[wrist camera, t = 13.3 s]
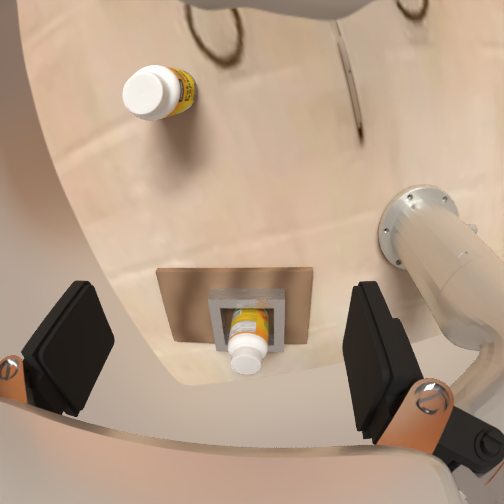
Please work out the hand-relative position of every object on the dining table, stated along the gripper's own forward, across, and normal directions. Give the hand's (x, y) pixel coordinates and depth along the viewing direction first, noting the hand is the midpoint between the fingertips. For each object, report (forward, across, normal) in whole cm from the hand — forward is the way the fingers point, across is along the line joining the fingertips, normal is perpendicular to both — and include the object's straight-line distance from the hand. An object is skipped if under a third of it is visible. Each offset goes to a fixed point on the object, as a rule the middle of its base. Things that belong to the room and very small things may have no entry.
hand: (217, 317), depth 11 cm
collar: (+27, +2, +24) cm, 36 cm away
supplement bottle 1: (+28, +9, -8) cm, 31 cm away
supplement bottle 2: (+28, +2, +24) cm, 36 cm away
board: (+28, +4, +23) cm, 37 cm away
